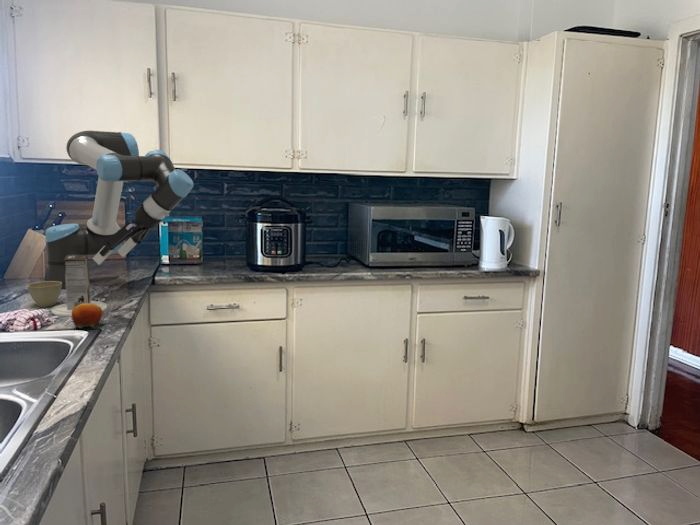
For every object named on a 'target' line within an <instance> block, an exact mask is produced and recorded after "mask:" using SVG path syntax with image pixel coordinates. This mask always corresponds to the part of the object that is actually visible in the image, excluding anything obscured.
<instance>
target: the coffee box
mask: <svg viewBox="0 0 700 525" xmlns="http://www.w3.org/2000/svg"><path fill="white" fill-rule="evenodd" d="M88 257H89V256H88V255H66V257H65V259H64V268H65V282H66V288H65V296H66V303H67V310H73V308H74V307H76V306H78V305H80V304H83V303H90V302H91V301H92V299H91V289H90V288H91V286H90V285H91V284H90V271H89V260H88Z"/></svg>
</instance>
